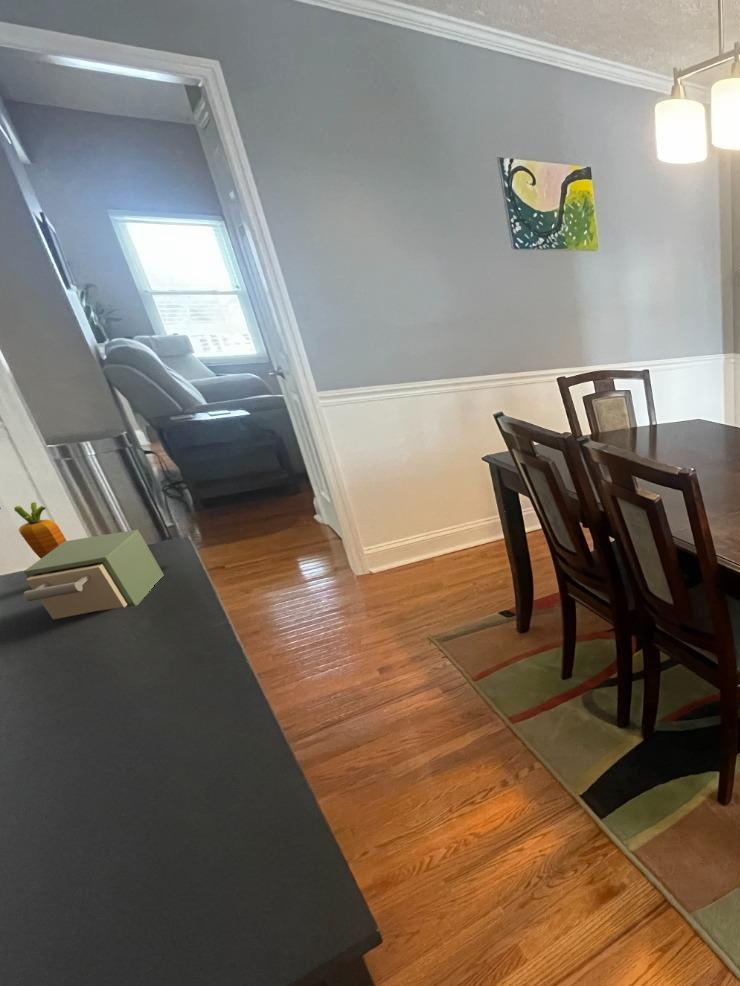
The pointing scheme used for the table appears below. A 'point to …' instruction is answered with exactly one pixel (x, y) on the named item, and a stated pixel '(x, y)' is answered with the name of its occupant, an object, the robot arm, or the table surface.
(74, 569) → the drawer
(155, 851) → the table surface
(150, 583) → the cabinet
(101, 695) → the table surface
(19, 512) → the carrot
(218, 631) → the table surface
